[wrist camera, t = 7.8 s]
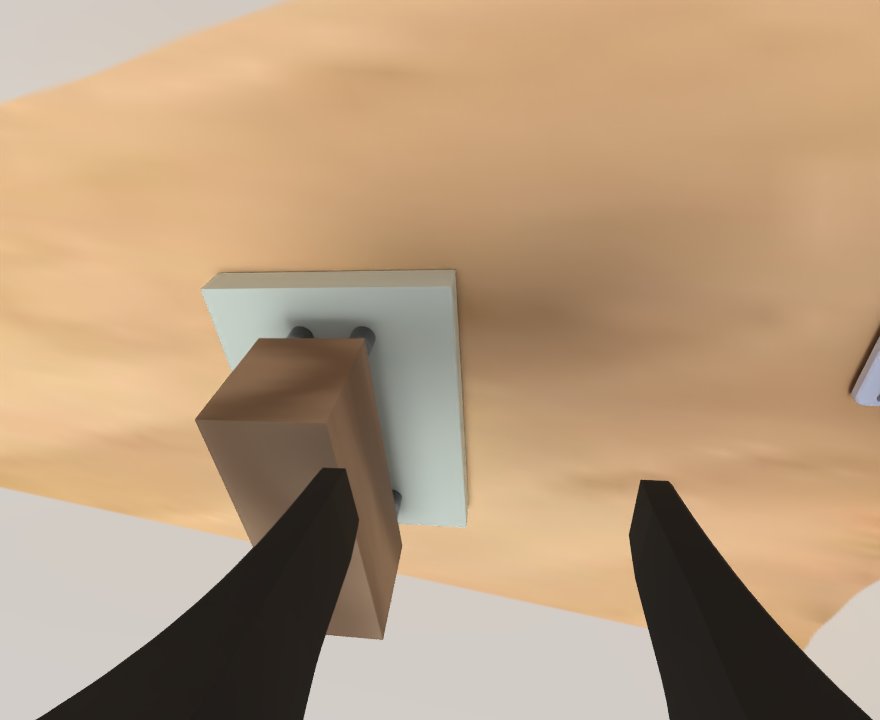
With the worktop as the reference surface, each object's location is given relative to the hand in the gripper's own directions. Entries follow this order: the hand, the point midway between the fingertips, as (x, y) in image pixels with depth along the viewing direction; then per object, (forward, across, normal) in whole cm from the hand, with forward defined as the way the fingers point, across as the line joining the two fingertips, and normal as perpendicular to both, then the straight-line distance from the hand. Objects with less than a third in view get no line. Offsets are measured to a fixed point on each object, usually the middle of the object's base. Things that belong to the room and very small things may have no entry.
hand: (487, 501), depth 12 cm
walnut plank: (+6, +7, +5) cm, 10 cm away
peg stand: (+10, +7, +5) cm, 13 cm away
